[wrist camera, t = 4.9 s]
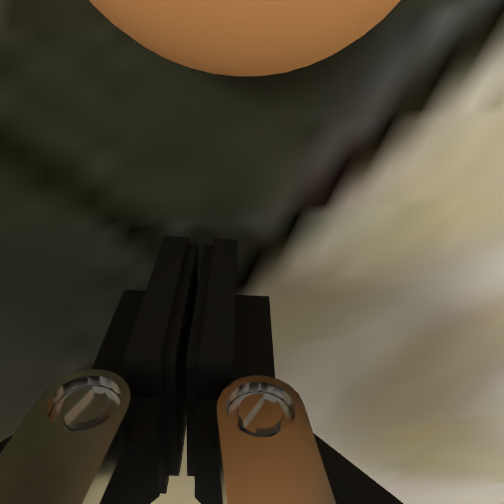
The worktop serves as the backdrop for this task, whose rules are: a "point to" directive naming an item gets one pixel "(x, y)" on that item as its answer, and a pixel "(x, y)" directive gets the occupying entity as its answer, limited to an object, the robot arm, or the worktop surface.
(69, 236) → the worktop surface
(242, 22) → the ball
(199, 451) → the robot arm
